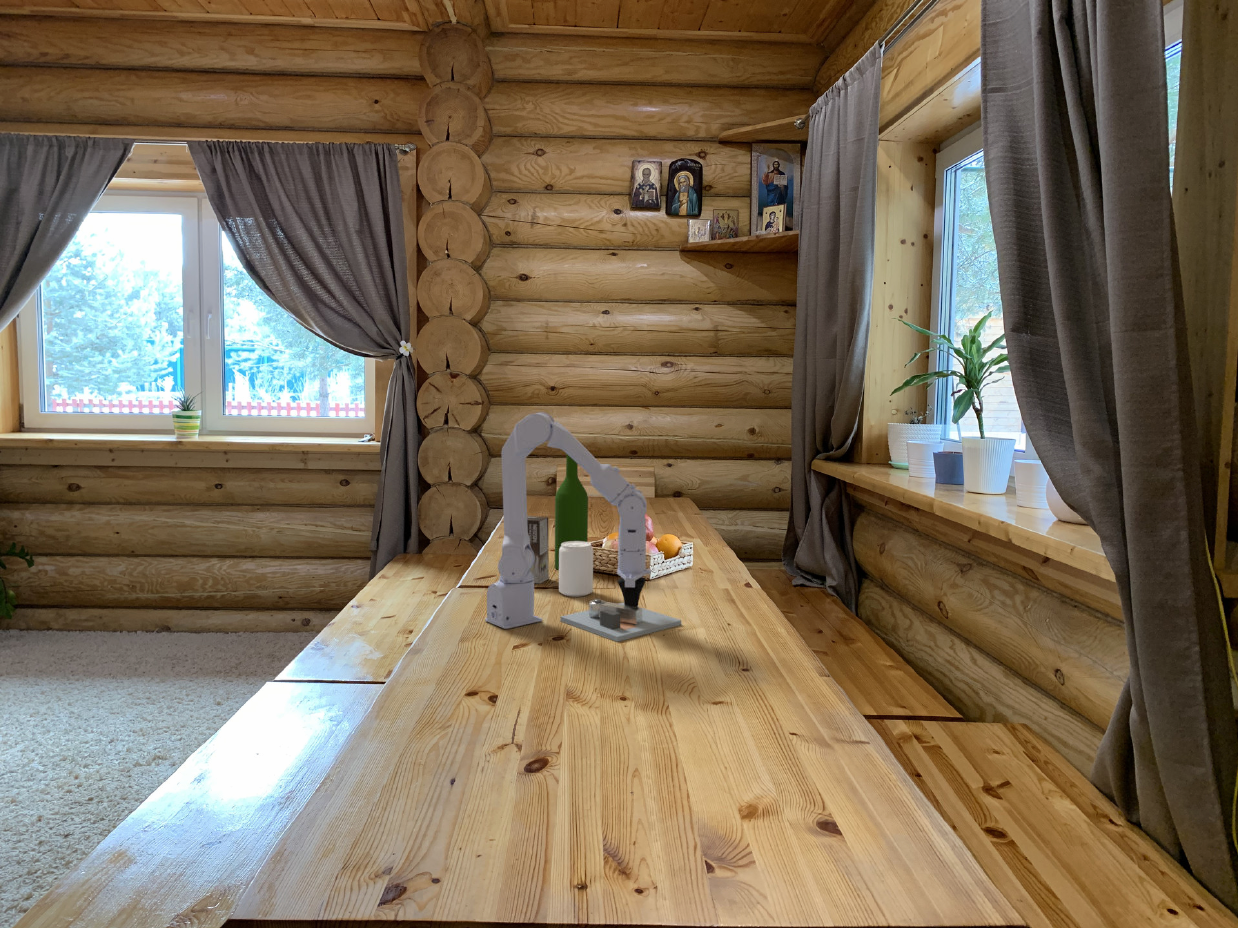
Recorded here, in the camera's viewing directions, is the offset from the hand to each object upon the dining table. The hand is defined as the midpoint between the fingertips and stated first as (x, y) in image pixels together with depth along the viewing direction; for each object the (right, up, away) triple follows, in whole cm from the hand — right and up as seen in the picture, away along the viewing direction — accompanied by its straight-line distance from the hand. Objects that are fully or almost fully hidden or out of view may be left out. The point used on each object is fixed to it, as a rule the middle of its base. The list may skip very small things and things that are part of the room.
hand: (631, 612), depth 170 cm
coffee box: (-26, +1, +37) cm, 45 cm away
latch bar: (-4, -1, 0) cm, 4 cm away
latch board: (-2, -2, +1) cm, 3 cm away
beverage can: (-13, 0, +25) cm, 28 cm away
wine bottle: (-16, +3, +52) cm, 54 cm away
